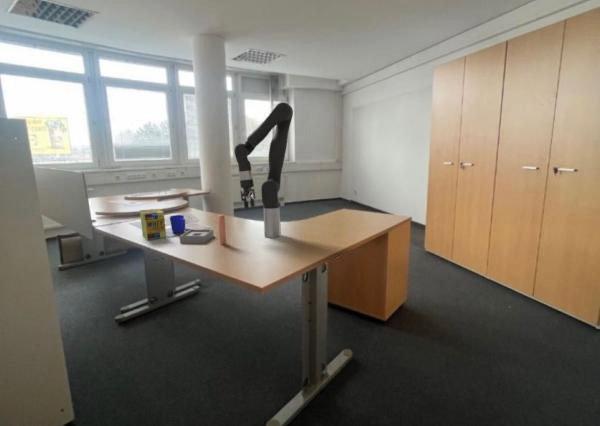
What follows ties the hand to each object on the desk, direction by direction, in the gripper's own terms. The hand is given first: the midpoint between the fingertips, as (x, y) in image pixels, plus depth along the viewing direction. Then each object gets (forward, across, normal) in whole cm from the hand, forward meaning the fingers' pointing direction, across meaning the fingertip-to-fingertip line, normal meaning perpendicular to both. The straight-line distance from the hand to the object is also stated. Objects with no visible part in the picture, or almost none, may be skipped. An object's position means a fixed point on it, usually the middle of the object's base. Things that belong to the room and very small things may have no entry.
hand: (249, 207), depth 179 cm
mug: (+12, +2, +50) cm, 52 cm away
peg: (+18, -15, +11) cm, 26 cm away
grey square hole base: (+15, -10, +30) cm, 35 cm away
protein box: (+12, -10, +60) cm, 62 cm away
